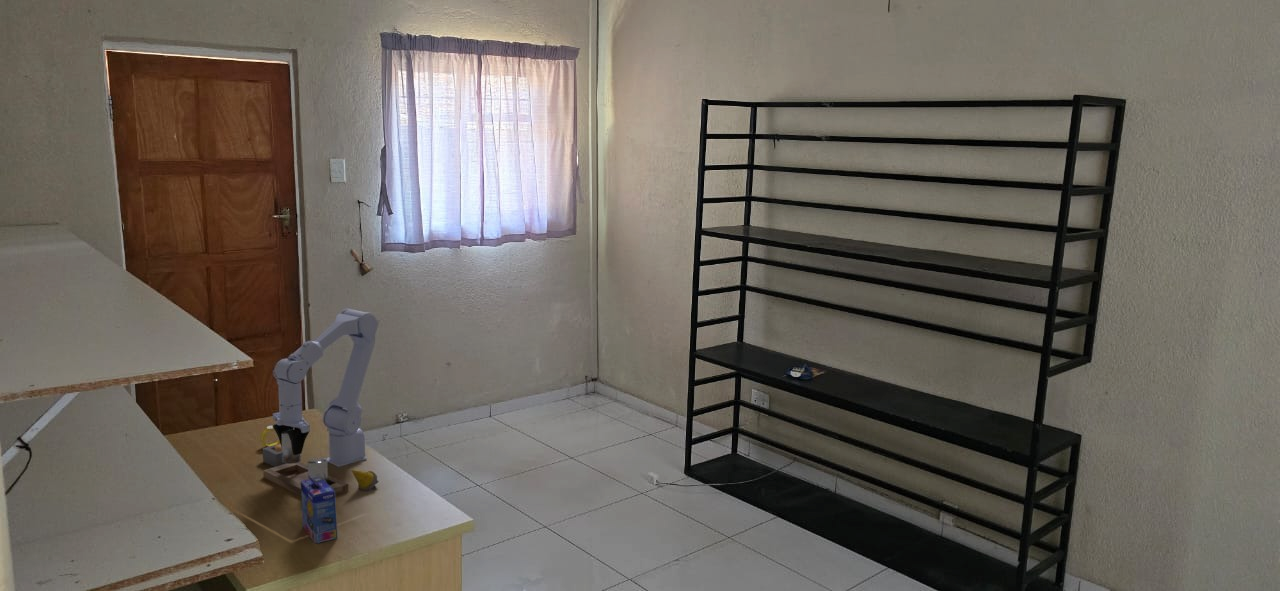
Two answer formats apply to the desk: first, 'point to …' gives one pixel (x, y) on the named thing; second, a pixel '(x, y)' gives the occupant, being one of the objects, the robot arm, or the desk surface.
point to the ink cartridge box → (319, 510)
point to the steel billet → (288, 450)
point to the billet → (318, 469)
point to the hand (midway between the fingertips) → (291, 451)
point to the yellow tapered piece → (365, 479)
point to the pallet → (298, 478)
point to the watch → (269, 428)
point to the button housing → (272, 456)
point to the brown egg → (278, 448)
